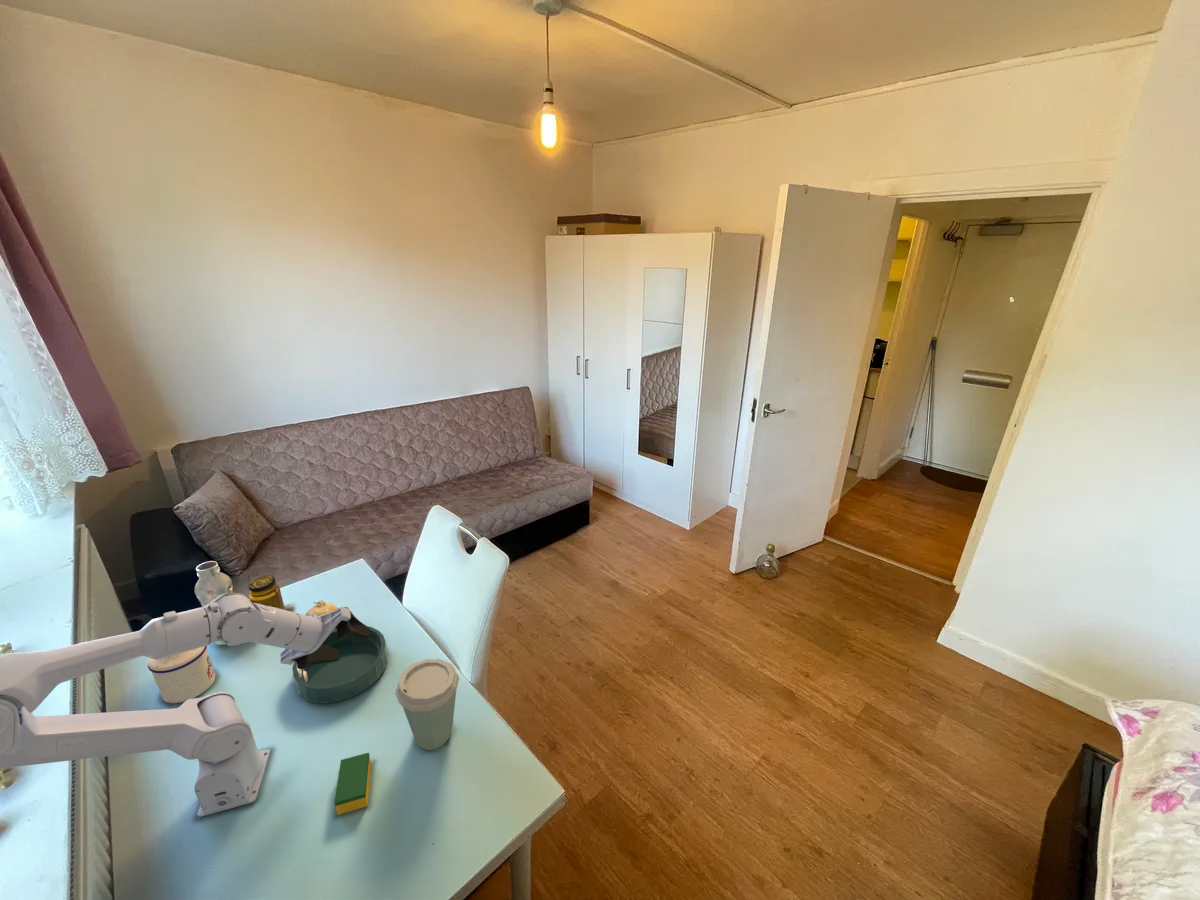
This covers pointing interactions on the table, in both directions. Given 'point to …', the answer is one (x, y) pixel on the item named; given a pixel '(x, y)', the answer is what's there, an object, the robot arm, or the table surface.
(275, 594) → the condiment
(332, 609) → the onion
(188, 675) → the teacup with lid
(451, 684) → the disposable coffee cup
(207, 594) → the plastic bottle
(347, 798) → the sponge
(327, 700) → the bowl
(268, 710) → the table surface
